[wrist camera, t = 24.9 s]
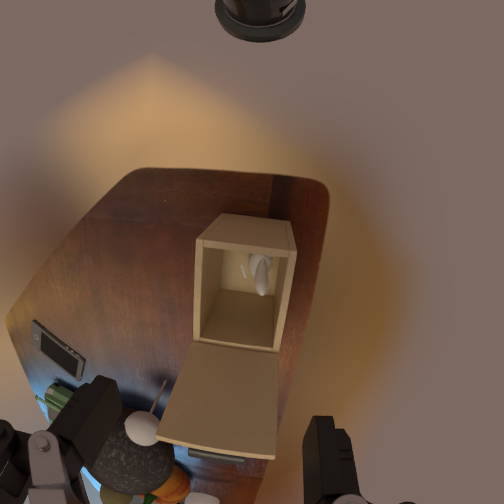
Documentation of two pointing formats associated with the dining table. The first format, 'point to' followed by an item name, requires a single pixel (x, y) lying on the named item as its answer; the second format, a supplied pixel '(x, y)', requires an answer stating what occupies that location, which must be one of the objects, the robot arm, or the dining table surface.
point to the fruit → (114, 497)
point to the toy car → (55, 399)
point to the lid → (224, 405)
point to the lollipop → (143, 425)
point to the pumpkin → (170, 489)
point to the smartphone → (57, 351)
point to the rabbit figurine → (259, 271)
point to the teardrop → (200, 499)
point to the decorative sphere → (132, 462)
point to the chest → (242, 283)
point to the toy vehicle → (139, 500)
